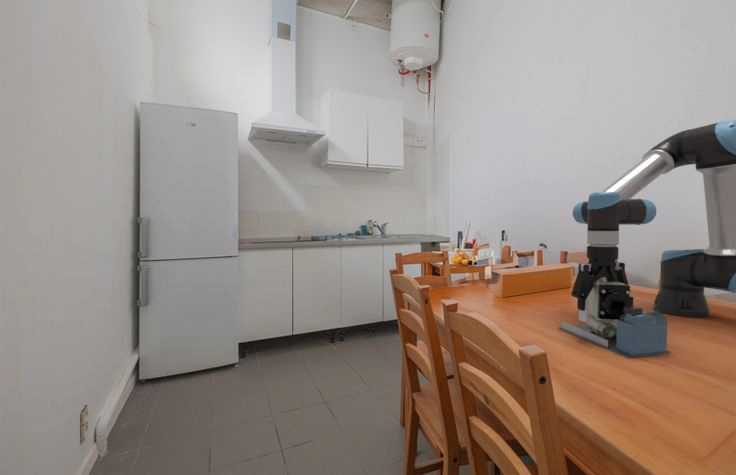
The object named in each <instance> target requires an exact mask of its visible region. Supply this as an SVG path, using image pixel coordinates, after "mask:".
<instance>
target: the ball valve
mask: <svg viewBox="0 0 736 475" xmlns="http://www.w3.org/2000/svg"><path fill="white" fill-rule="evenodd" d="M628 285H629V284H628ZM628 285H625V284H624V283H620V282H616V281H610V280H607V279H606V278H605V277H603V278H600V279H599V280H597V281H596V282H594V285H593V288H592V290H591V292H590V294H589V296H588V297H587V300H589V315H592V316H589V322H588V323H586V325H587V327H588V328H589V329H590V330H592V331H593V332H595V333H596V334H598V335H599V336H601V337H603V338H613V337H614V336H615V334H616V335H617V320H620V316H621V315H622V314H626V313H624V307H626V306H634V297H633V296H631V286H630V285H629V286H628ZM576 304H577V307H578V299H577V303H576Z"/></svg>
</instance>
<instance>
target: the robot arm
mask: <svg viewBox="0 0 736 475" xmlns="http://www.w3.org/2000/svg"><path fill="white" fill-rule="evenodd" d="M689 165H694V166H695V170H696V171H697V172H698V173H701V174H702V177H703V187H704V189H703V190H704V200H705V212H706V221H707V231H708V232H707V233H708V234H707V235H708V243H709V245H708V247H707V248H701V249H700V248H699V249H698V248H696V249H694V248H693V249H669V250H667V249H666V250H665V251H663V252H661V259H660V280H659V281H660V284H659V285H660V288H659V291H658V293H657V295H656V297H655V299H654V301H653V307H652V308H653V309H654V310H655V311H659V312H661V313H663V314H668V315H672V316H679V317H684V318H685V317H686V318H699V319H700V318H701V319H702V318H710V316H711V308H710V305H709V302H708V301H707V298H706V295H705V288H707V289H711V290H712V289H713V290H718V291H722V292H723V291H725V292H729V293H733V294H736V118H734V119H731V120H723V121H719V122H715V123H711V124H708V125H704V126H698V127H695V128H690V129H686V130H682V131H679V132H677V133H675V134H673V135H671V136H669V137H667V138H665V139H664V140H662V141H660V142H659V143H658V144H656V145H654V146H653V147H652V148H651V149H649V150H648V151H646V153H644V154H643V156H642V159H641V160H640V161H638V162H637V164H635V165H634V166H632V168H630V169H629V170H628V171H626V172H625V173H624V174H622V175H621V176H619V178H617V179H616V180H615V181H613V182H612V183H610V184H609V185H608V186H607V187H606V188H605V189H603V190H602V191H601V192H600V191H598V192H592V193H590V194H589V195H588V201H582V202H578V203H577V204H576V205H574V207H573V209H572V217H573V219H574V221H575V222H577V223H578V224H583V225H584V224H585V225H587V229H586V230H587V232H586V233H587V236H586V239H587V240H586V243H587V244H588V245H587V246H586V258H587V259H588V262H587V263H586V264H585V263H578V271H577V275H576V278H575V281H574V284H573V288H572V291H571V297H574V298H575V299H577V300H578V306H577V309H578V310H577V311H578V321H581V322H584V323H586V324H587V323H588V322H589V317H590V314H589V300H587V297H588V296H589V294H590V292H591V290H592V288H593V285H594V282H596V281H597V280H599V279H600V278H603V277H605V278H606V279H607V280H610V281H616V282H620V283H624V284H625V285H628V286H630V285H629V281H628V277H627V274H626V271H625V270H626V264H625V262H619V261H617V260H618V259H619V247H618V245H619V244H620V225H622V226H623V225H624V226H625V225H632V226H633V225H637V226H641V225H646V224H649V223H650V222H651V223H652V221H653V220H654V219H655V217H656V216H657V207H656V205H655V203H654V202H653V201H651V200H649V199H646V198H645V199H643V198H635V199H634V197H635V196H636V195H637V194H638V193H640V192H641V191H642V190H644V189H645V188H646V187H647V186H649V185H650V184H651V183H653V182H654V181H655V180H656V179H657V178H658V177H660V176H661V175H666V174H668V173H670V172H671V171H673V170H674V169H676V168H679V167H684V166H689Z"/></svg>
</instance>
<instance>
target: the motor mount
mask: <svg viewBox="0 0 736 475" xmlns="http://www.w3.org/2000/svg"><path fill="white" fill-rule="evenodd" d="M624 313H626V314H622V315H621V316H620V320H616V321H617V335H616V334H615V336H614V337H613V338H603V337H601V336H599V335H598V334H596V333H595V332H593V331H592V330H590V329H589V328H588V327H587V324H581V325H580V324H579V325H576V324H575V325H571V324H568V323H567V322H564V321H562V322H561V326H558V328H557V329H559V330H561V331H563V332H566V333H567V334H570V335H572V336H575V337H578V338H579V339H582V340H585V341H587V342H590V343H592V344H594V345H597V346H598V347H601V348H604V349H606V350H609V351H611V352H613V353H615V354H618V355H620V356H623V357H625V358H627V359H631V358H632V359H633V358H642V357H650V356H658V355H666V354H667V355H669V354H671V351H669V350H667V345H668V344H667V340H668V320H667V319H668V318H667V316H666V315H665V313H663V312H659V311H657V310H655V311H652V310H651V311H643V308H642V307H638V306H635V305H633V306H626V307H624Z"/></svg>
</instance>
